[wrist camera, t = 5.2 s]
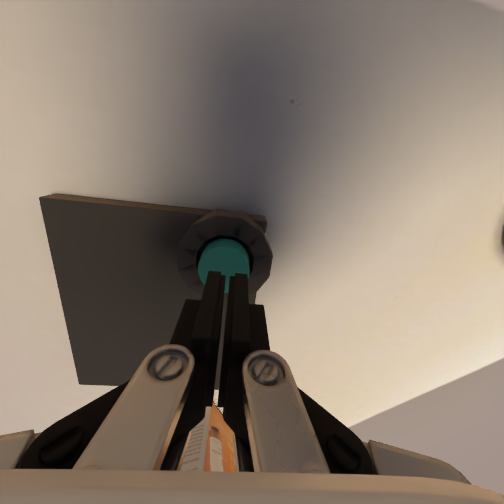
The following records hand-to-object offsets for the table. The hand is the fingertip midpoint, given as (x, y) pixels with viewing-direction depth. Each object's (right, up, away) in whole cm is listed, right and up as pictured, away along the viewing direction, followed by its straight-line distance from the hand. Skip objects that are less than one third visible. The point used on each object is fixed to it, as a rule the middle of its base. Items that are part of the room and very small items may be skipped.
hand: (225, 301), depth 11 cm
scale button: (-1, +2, +5) cm, 5 cm away
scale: (-6, -2, +9) cm, 11 cm away
